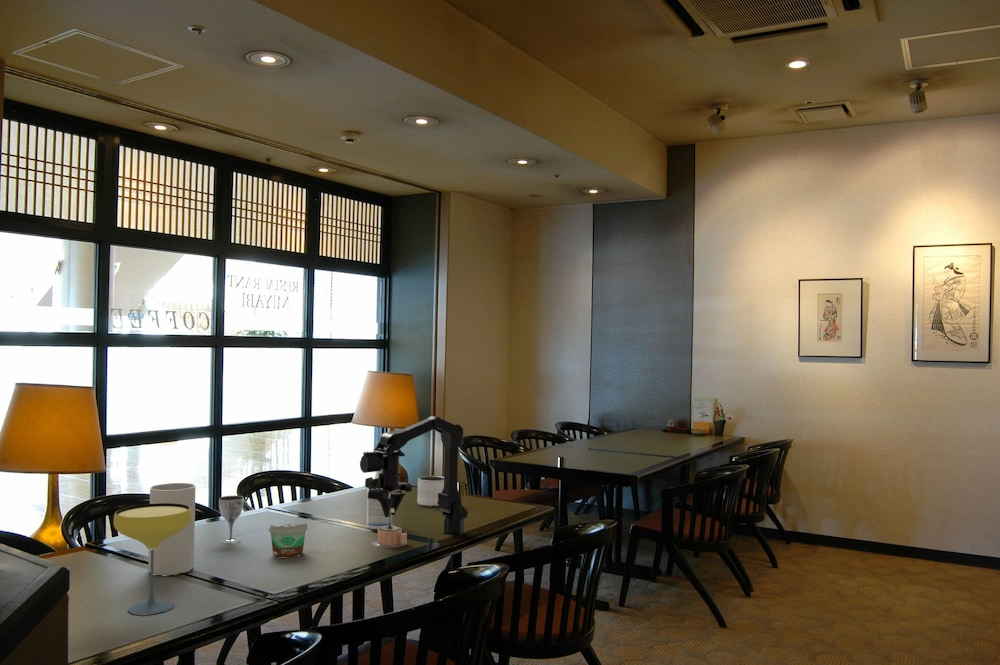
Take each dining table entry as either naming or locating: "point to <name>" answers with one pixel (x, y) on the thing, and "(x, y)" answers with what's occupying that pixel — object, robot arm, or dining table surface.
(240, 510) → the wine glass
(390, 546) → the disc
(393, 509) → the plunger
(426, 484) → the planter
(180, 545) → the cylinder vase
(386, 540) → the orange slatted barrel
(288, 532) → the food container
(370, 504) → the supplement tub
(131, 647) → the dining table surface
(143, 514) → the cocktail glass
